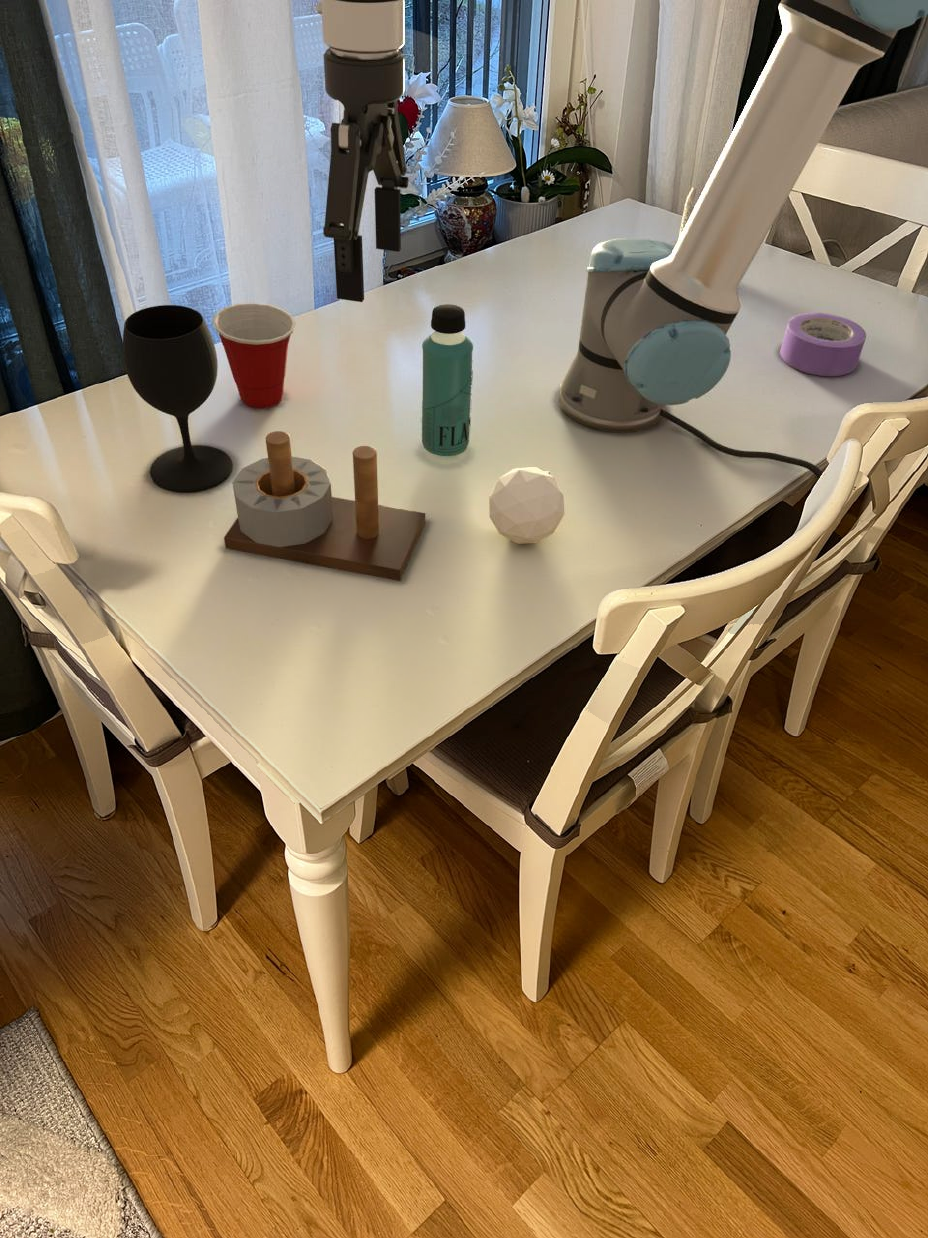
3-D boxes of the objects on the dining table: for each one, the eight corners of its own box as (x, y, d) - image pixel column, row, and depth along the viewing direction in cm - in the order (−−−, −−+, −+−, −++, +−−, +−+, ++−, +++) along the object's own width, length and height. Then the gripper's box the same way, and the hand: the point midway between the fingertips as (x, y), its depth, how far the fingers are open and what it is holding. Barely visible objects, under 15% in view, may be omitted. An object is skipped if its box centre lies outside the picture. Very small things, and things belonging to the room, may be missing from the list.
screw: (692, 264, 174) (665, 261, 174) (691, 254, 177) (666, 251, 177) (707, 191, 165) (679, 188, 165) (706, 182, 168) (679, 179, 169)
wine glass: (156, 447, 123) (124, 301, 109) (237, 446, 124) (215, 301, 110) (143, 494, 116) (107, 343, 102) (229, 492, 116) (205, 343, 103)
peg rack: (425, 523, 114) (426, 433, 105) (400, 580, 106) (399, 488, 97) (262, 494, 117) (250, 404, 108) (225, 548, 109) (209, 456, 100)
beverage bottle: (433, 471, 122) (436, 326, 108) (411, 445, 126) (411, 302, 112) (478, 460, 124) (486, 316, 110) (455, 435, 128) (460, 293, 114)
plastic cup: (287, 423, 129) (279, 342, 120) (212, 412, 130) (199, 331, 122) (312, 385, 136) (306, 306, 128) (241, 375, 138) (231, 296, 129)
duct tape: (260, 484, 115) (255, 449, 112) (344, 499, 114) (342, 464, 110) (223, 537, 108) (217, 501, 104) (313, 553, 106) (310, 518, 103)
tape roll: (774, 366, 146) (783, 336, 143) (785, 335, 154) (793, 306, 151) (852, 383, 143) (863, 353, 140) (859, 350, 151) (869, 321, 148)
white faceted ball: (560, 557, 107) (581, 509, 116) (546, 484, 102) (569, 440, 112) (488, 560, 110) (515, 513, 119) (472, 489, 106) (501, 446, 115)
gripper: (365, 17, 97) (371, 226, 111) (275, 77, 79) (296, 317, 93) (436, 24, 96) (433, 234, 110) (361, 87, 78) (368, 328, 92)
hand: (370, 273), depth 102 cm, fingers open, 13 cm apart
